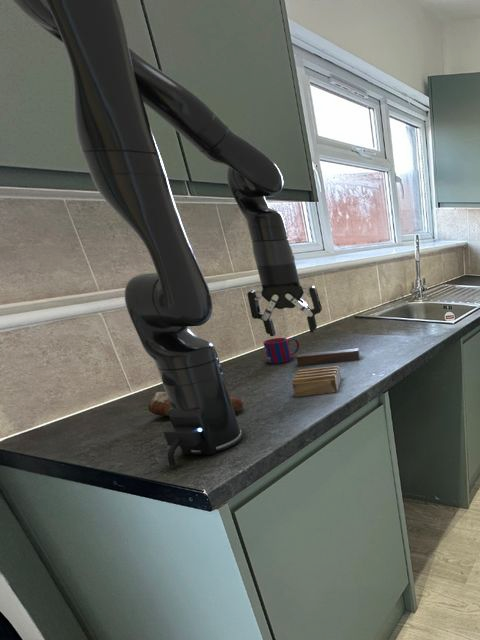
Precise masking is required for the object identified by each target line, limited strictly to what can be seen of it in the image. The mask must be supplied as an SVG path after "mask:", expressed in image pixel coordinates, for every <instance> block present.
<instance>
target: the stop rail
mask: <svg viewBox="0 0 480 640" xmlns="http://www.w3.org/2000/svg"><path fill="white" fill-rule="evenodd" d="M360 360H361V354H360V348H359V347H357V348H349V349H338V350H328V351H317V352H307V353H298V354H297V355H296V362H297V366H298V367H305V366H312V365H313V366H315V365H323V364H334V363H341V362H352V361H360Z"/></svg>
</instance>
